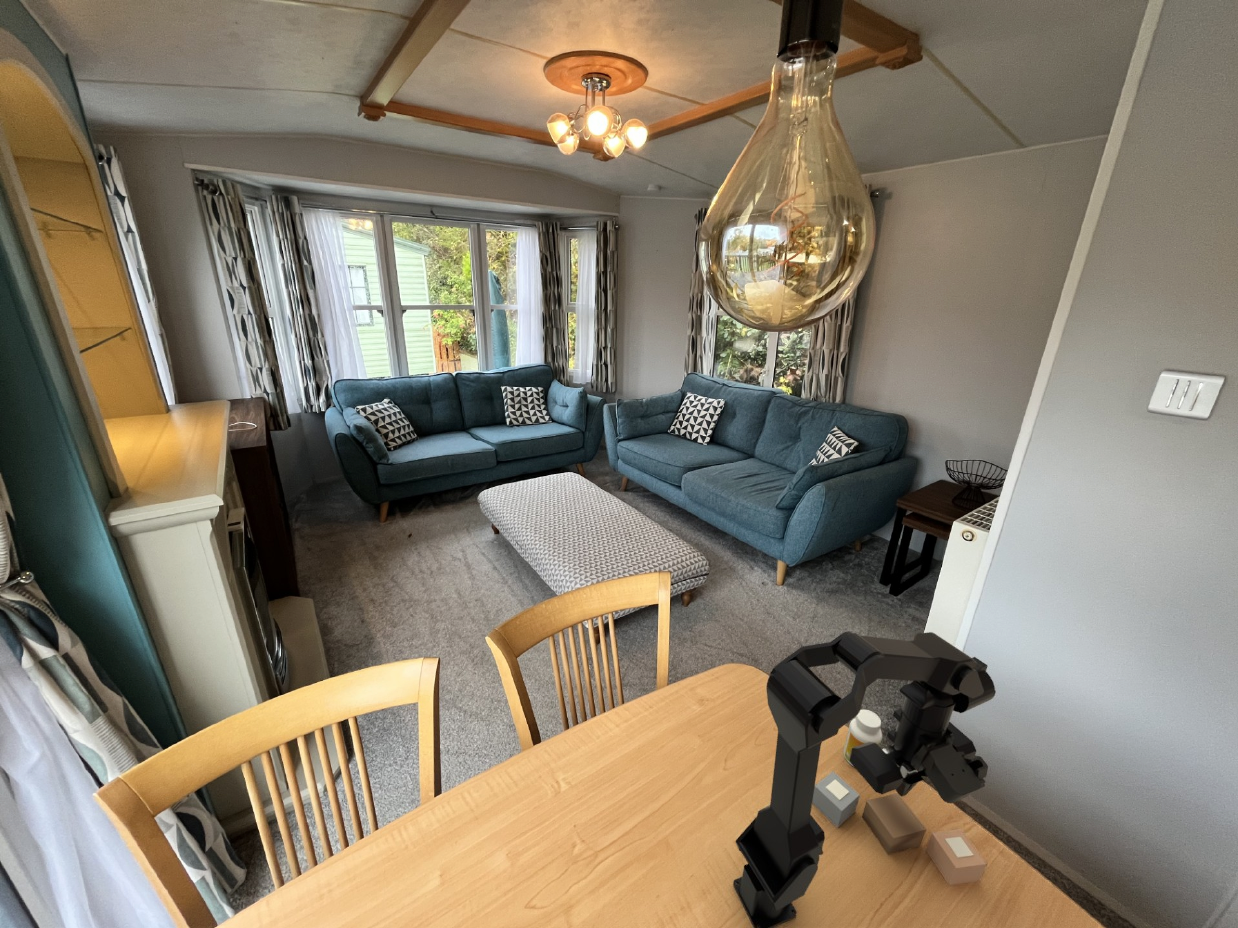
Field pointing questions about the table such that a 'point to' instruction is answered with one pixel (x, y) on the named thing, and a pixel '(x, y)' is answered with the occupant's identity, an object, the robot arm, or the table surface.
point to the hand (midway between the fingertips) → (900, 793)
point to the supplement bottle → (862, 731)
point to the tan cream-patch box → (955, 857)
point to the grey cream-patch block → (835, 798)
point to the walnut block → (893, 823)
